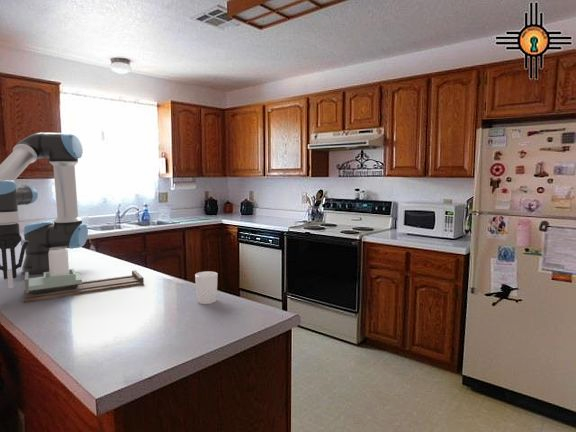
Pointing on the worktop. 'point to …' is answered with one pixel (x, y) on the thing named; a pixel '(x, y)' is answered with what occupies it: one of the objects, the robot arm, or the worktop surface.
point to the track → (86, 287)
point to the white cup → (206, 287)
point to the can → (58, 261)
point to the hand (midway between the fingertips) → (11, 287)
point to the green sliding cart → (51, 281)
